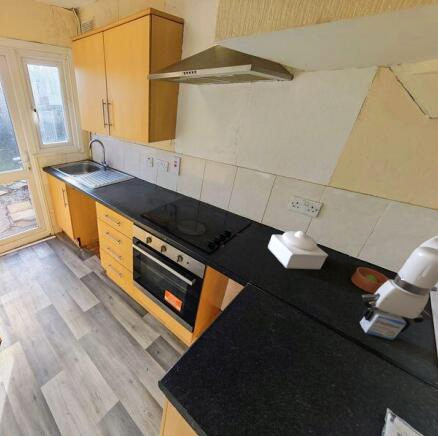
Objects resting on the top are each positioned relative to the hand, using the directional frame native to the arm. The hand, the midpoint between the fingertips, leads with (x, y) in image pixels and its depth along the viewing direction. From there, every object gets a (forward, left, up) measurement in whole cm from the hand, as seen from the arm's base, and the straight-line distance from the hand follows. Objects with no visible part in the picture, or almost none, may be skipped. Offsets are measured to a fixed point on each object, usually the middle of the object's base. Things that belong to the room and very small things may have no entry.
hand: (382, 322), depth 77 cm
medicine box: (0, 0, -5) cm, 5 cm away
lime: (-6, -30, -2) cm, 30 cm away
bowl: (-6, -30, -5) cm, 31 cm away
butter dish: (+23, -36, -5) cm, 43 cm away
